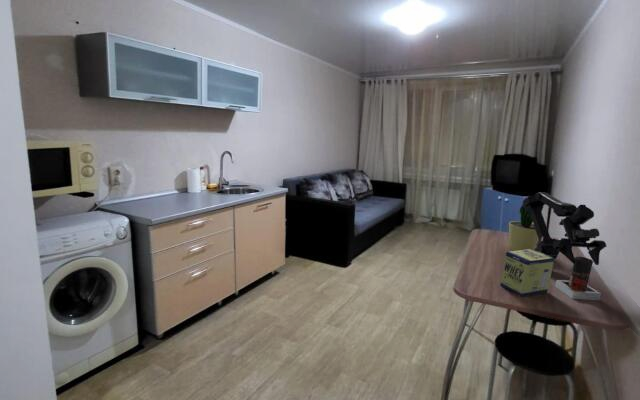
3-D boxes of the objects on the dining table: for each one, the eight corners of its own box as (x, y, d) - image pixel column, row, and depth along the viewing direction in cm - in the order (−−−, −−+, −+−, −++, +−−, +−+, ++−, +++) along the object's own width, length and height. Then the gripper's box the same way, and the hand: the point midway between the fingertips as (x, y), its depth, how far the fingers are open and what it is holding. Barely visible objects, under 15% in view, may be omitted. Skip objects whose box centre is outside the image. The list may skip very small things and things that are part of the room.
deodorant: (563, 289, 147) (571, 256, 144) (576, 289, 148) (584, 256, 144) (575, 296, 141) (583, 262, 138) (588, 296, 142) (596, 262, 139)
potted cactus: (509, 243, 204) (518, 194, 197) (539, 251, 193) (549, 199, 187) (500, 249, 193) (510, 197, 186) (531, 257, 182) (542, 202, 176)
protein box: (499, 285, 148) (505, 251, 144) (525, 281, 153) (532, 248, 150) (520, 297, 138) (528, 261, 135) (548, 292, 144) (555, 257, 140)
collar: (555, 286, 150) (556, 279, 149) (580, 287, 150) (581, 281, 149) (572, 298, 139) (573, 291, 139) (599, 300, 139) (600, 293, 138)
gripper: (562, 219, 142) (575, 254, 133) (608, 222, 141) (624, 257, 133) (547, 231, 151) (558, 265, 143) (590, 234, 151) (603, 268, 142)
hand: (586, 264), depth 140 cm, fingers open, 9 cm apart
